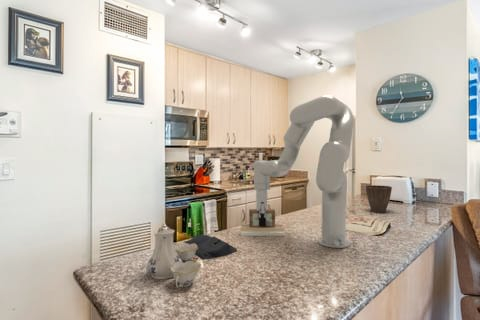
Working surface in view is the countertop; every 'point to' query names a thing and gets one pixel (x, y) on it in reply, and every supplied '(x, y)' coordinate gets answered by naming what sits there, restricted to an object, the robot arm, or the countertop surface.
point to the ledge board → (262, 231)
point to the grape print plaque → (365, 224)
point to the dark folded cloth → (211, 247)
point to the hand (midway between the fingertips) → (262, 224)
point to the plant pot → (378, 197)
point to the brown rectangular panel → (255, 218)
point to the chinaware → (172, 259)
